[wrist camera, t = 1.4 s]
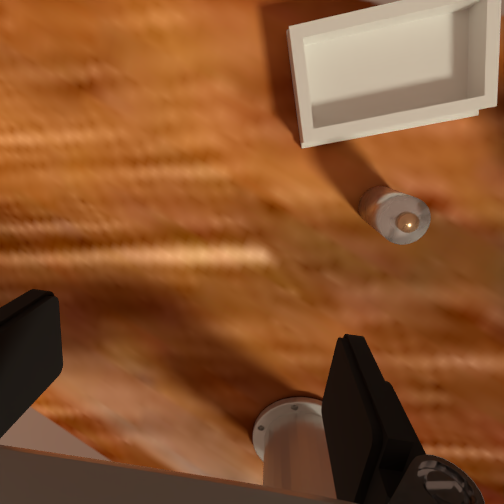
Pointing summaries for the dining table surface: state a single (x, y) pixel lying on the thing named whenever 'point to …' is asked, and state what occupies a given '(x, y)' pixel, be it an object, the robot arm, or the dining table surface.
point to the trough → (394, 67)
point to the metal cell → (394, 214)
